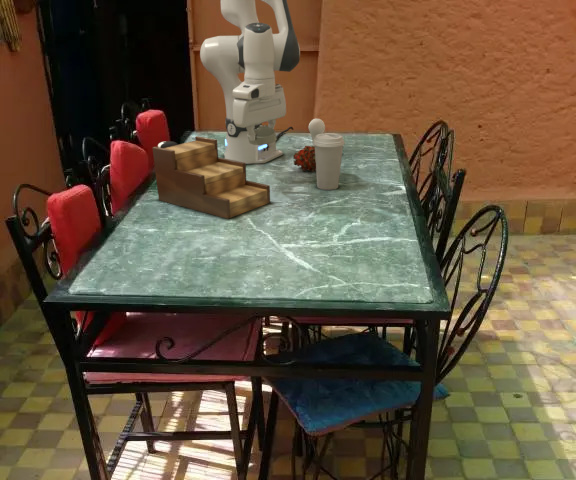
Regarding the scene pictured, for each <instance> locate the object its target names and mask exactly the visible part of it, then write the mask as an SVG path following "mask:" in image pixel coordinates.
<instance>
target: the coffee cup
mask: <svg viewBox="0 0 576 480" xmlns="http://www.w3.org/2000/svg"><path fill="white" fill-rule="evenodd" d="M345 144H346V143H345V139H344V137H343V135H341V134H339V133H332V132H331V133H329V132H328V133H323V134H319V135H316V137H315V139H314V141H313V142H312V146H313V145H315V159H316V170H315V172H316V173H315V174H316V185H317V188H318V189H320V190H324V191H332V190H336V189H338V188H339V186H340V185H339V184H340V176H341V175H340V174H341V166H342V158H343V149H344V146H345Z"/></svg>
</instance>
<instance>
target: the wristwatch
mask: <svg viewBox="0 0 576 480" xmlns="http://www.w3.org/2000/svg"><path fill="white" fill-rule="evenodd" d="M254 132H255V134H257V140H254V141H252V140H250V136H249V133H248V134H247V135H248V139H249V143H250V144H253V145H264V144H270V143H273V142H276V141H277V140H278V138H276V136H277V134H276V130H275V128H274V129H272V128H270V127H268V125H266V124H265V125H263V124H262V125H260V127H259V128H257V129H254Z"/></svg>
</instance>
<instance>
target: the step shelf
mask: <svg viewBox="0 0 576 480" xmlns="http://www.w3.org/2000/svg"><path fill="white" fill-rule="evenodd" d="M218 147H219V145H218V139H217V138H216V139H215V138H210V137H205V136H199V135H197V136H195V140H191V141H188V142H184V143H180V144H177V145H175V146H171V147H167V148H159V147H158V146H153V147H152V155H153V164H154V170H155V179H156V186H157V187H156V188H157V189H156V190H157V197H158V201H161V202H164V203H168V204H171V205H175V206H179V207H181V208H182V207H183V208H186V209H190V210H194V211H198V212H201V213H204V214H208V215H212V216H216V217H220V218H224V219H226V220H228V219H231V218H233V217H236V216H239V215H242V214H244V213H247V212H249V211H252V210H254V209H258V208H260V207H263V206H265V205H267V204H270V203H271V185H270V184H265V183H261V182H257V181H251V180H247V164H246V163H244V162H239V161H234V160H229V159H225V157H219V148H218Z"/></svg>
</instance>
